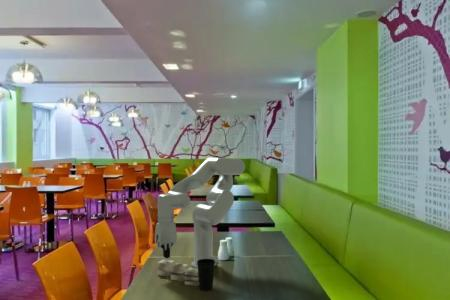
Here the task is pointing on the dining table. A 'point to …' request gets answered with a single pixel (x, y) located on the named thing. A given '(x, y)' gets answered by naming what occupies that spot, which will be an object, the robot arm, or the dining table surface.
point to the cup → (206, 274)
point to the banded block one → (178, 271)
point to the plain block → (164, 267)
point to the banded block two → (191, 277)
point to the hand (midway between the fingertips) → (166, 257)
